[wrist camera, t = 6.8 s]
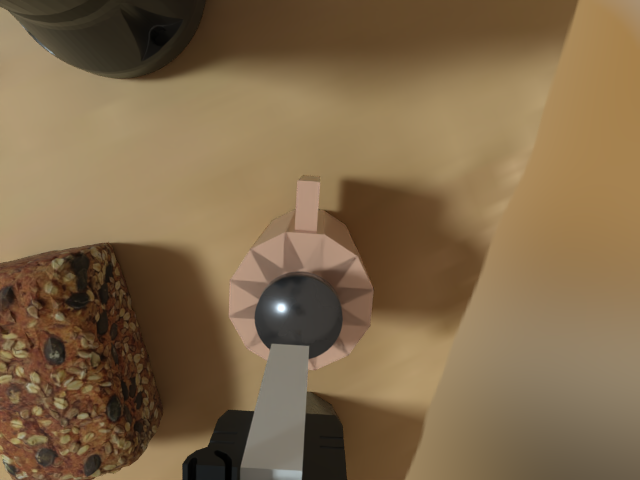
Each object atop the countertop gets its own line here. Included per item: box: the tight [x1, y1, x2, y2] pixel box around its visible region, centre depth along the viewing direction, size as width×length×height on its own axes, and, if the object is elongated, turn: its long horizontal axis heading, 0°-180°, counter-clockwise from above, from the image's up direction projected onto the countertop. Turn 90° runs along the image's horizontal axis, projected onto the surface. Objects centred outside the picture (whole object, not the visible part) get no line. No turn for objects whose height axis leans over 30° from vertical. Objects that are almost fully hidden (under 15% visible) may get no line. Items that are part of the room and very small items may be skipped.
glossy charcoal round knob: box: [255, 271, 343, 359], centre depth 29 cm, size 5×5×12 cm
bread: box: [0, 242, 163, 480], centre depth 34 cm, size 19×11×10 cm, turn 10°
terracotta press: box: [229, 175, 374, 370], centre depth 31 cm, size 9×12×12 cm
